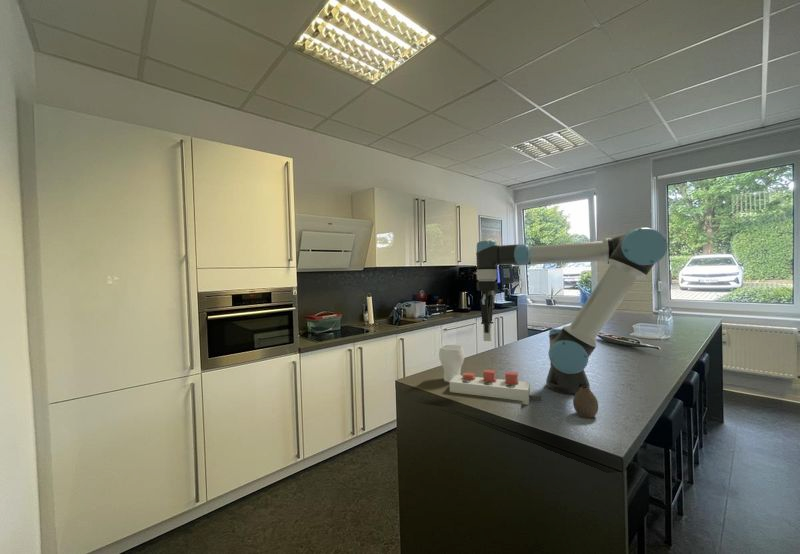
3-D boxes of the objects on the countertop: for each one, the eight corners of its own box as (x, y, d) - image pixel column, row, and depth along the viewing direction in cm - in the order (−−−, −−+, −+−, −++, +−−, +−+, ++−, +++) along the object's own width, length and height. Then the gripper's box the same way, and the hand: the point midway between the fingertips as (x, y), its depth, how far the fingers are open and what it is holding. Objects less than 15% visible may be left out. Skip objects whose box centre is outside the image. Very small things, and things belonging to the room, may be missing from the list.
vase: (568, 411, 104) (567, 384, 104) (588, 409, 105) (587, 383, 105) (582, 420, 98) (581, 392, 98) (604, 419, 98) (603, 390, 98)
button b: (495, 379, 123) (495, 370, 123) (494, 382, 120) (494, 372, 120) (485, 378, 125) (484, 369, 125) (483, 381, 122) (483, 371, 122)
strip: (541, 397, 117) (541, 382, 117) (541, 406, 109) (540, 391, 109) (456, 387, 131) (455, 374, 131) (449, 394, 123) (449, 381, 123)
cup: (465, 386, 131) (463, 350, 131) (439, 386, 133) (437, 349, 133) (465, 378, 141) (464, 344, 141) (441, 378, 143) (439, 344, 143)
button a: (517, 381, 120) (517, 372, 120) (517, 384, 117) (516, 374, 117) (506, 380, 121) (506, 371, 121) (505, 383, 119) (505, 373, 119)
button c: (475, 382, 127) (474, 373, 127) (473, 384, 124) (472, 375, 124) (465, 381, 128) (464, 372, 128) (463, 383, 125) (462, 374, 125)
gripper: (481, 280, 133) (481, 336, 133) (472, 280, 121) (473, 343, 122) (499, 280, 129) (500, 338, 130) (492, 280, 118) (493, 344, 118)
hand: (487, 340), depth 126 cm, fingers closed
